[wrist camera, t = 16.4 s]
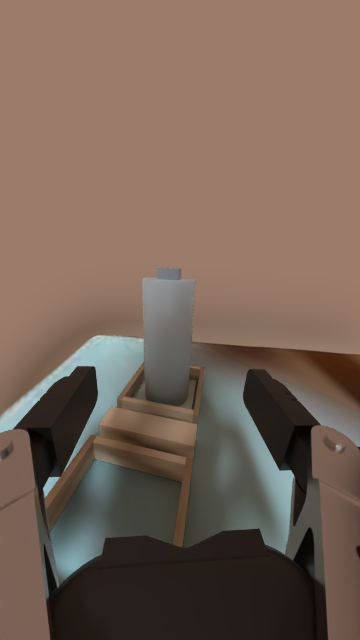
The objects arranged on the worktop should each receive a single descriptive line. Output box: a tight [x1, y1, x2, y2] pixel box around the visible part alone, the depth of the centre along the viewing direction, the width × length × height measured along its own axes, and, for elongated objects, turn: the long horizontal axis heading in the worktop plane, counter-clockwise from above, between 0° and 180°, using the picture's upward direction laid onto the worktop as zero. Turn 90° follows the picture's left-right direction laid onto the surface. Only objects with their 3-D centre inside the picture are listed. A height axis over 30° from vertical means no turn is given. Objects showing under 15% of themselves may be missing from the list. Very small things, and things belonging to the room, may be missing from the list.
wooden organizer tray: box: [45, 363, 204, 547], centre depth 16 cm, size 8×20×2 cm, turn 169°
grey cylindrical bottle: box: [142, 268, 196, 407], centre depth 20 cm, size 5×5×14 cm
